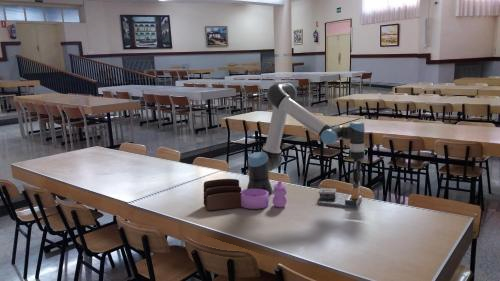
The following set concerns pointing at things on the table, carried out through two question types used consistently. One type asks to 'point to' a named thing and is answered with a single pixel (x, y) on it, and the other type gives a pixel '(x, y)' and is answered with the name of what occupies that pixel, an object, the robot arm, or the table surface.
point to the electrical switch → (327, 193)
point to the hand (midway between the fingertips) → (356, 192)
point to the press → (341, 201)
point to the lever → (354, 192)
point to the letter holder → (222, 194)
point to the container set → (263, 197)
